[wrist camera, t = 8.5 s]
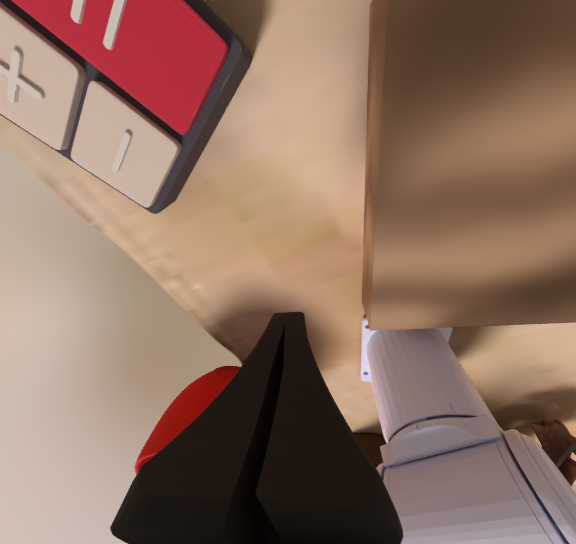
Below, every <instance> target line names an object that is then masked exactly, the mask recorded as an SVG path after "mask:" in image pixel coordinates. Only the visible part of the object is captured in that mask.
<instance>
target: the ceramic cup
mask: <svg viewBox="0 0 576 544" xmlns="http://www.w3.org/2000/svg"><path fill="white" fill-rule="evenodd" d="M240 368H241V367H237V366H223V367H219V368H217V369H215V370H213V371H212V372H210V373H207V374H205V375H203V376H202V377H200V378H198V379H197V380H195V381H194V382H193V383H191V384H190V385H189V386H187V387H186V388H185V389H184V390H183V391H182V392H181V393H180V394H179V395H178V396H177V397H176V399H175V400H174V401H173V402H172V403H171V405H170V406H169V407H168V409H167V410H166V411H165V413H164V414H163V416H162V417H161V419H160V420H159V422H158V424H157V425H156V427H155V429H154V430H153V432H152V434H151V435H150V437H149V439H148V440H147V442H146V444H145V446H144V447H143V449H142V451H141V453H140V455H139V457H138V459H137V462H136V465H135V472H136V474H137V473H138V472H139V470H140V468H141V466H142V465H144V464H145V463H146V462H147V461H148V460H150V459H151V458H152V457H153V456H154V455H155V454H157V453H158V452H159V451H160V450H161V449H162V448H164V447H165V446H166V445H167V444H168V443H169V442H171V441H172V440H173V439H174V438H175V437H176V436H177V435H179V434H180V433H181V432H182V431H183V430H184V429H185V428H186V427H187V426H188V425H189V424H190V423H191V422H192V421H193V420H194V419H195V418H196V417H197V416H198V415H199V414H200V413H202V412H203V410H204V409H205V408H206V407H207V406H208V405H209V404H210V403H211V402H212V401H213V400H214V399H215V398H216V397H217V395H218V394H219V393H220V392H221V391H222V390H223V389H224V388H225V386H226V385H227V384H228V383H229V382H230V380H231V379H232V378H233V377H234V375H235V374H236V373H237V371H238V370H239V369H240Z"/></svg>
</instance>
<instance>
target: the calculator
mask: <svg viewBox="0 0 576 544" xmlns="http://www.w3.org/2000/svg"><path fill="white" fill-rule="evenodd" d="M251 62H252V56H251V53H250V51H249V49H248V48H247V47H246V46H245V45H244V43H243V42H242V41H241V40H240V39H239V38H238V36H237V35H236V34H235V33H234V32H233V31H232V30H231V29H230V28H229V27H228V26H227V25H226V24H225V23H224V22H223V21H222V20H221V19H220V18H219V17H218V16H217V15H216V14H215V13H214V12H213V11H212V10H211V9H210V8H209V7H208V6H207V5H206V4H205V2H204V1H203V0H0V115H1V116H3V117H5V118H6V119H8V120H9V121H11V122H12V123H14V124H15V125H17V126H18V127H20V128H22V129H23V130H25V131H26V132H28V133H29V134H31V135H32V136H34V137H35V138H37V139H38V140H40V141H42V142H43V143H45V144H46V145H48V146H49V147H51V148H52V149H54V150H55V151H57V152H58V153H60V154H62V155H63V156H65V157H66V158H68V159H69V160H71V161H72V162H74V163H75V164H77V165H78V166H80V167H82V168H83V169H85V170H86V171H88V172H89V173H91V174H92V175H94V176H95V177H97V178H98V179H100V180H102V181H103V182H105V183H106V184H108V185H109V186H111V187H112V188H114V189H115V190H117V191H118V192H120V193H122V194H123V195H125V196H126V197H128V198H129V199H131V200H132V201H134V202H135V203H137V204H138V205H140V206H142V207H143V208H145V209H146V210H148V211H149V212H151V213H154V214H157V213H159V212H161V211H162V210H163V209H165V208H166V207H168V206H169V205H170V204H172V203H173V202H174V201H175V200H176V199H177V197H178V195H179V193H180V192H181V190H182V188H183V186H184V184H185V183H186V181H187V179H188V177H189V175H190V174H191V172H192V170H193V168H194V166H195V164H196V163H197V161H198V159H199V157H200V155H201V154H202V152H203V150H204V148H205V146H206V145H207V143H208V141H209V139H210V137H211V136H212V134H213V132H214V130H215V128H216V126H217V125H218V123H219V121H220V119H221V117H222V116H223V114H224V112H225V110H226V108H227V107H228V105H229V103H230V101H231V99H232V98H233V96H234V94H235V92H236V90H237V88H238V87H239V85H240V83H241V81H242V79H243V78H244V76H245V74H246V72H247V70H248V68H249V67H250V64H251Z"/></svg>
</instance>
